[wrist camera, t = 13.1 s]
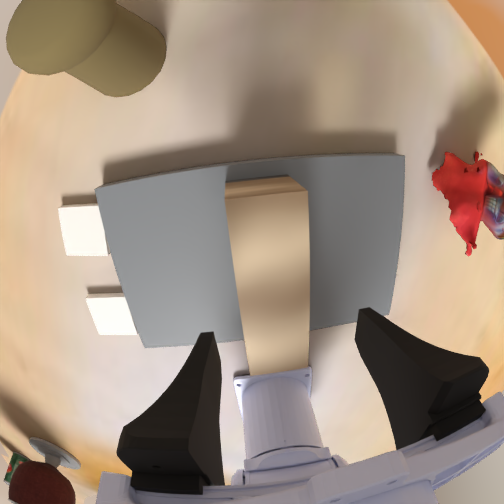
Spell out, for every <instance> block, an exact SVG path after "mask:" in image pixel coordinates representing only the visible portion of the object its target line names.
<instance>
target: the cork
mask: <svg viewBox="0 0 504 504" xmlns="http://www.w3.org/2000/svg"><path fill="white" fill-rule="evenodd" d="M6 42H7V50H8V53H9V55H10V57H11V59H12V61H13V63H14V64H15V65H16V66H18V67H19V68H21V69H23V70H24V71H26V72H27V73H30V74H39V75H52V74H56V73H59V72H63V71H65V72H67V73H68V74H70V75H72V76H74V77H75V78H77V79H79V80H81V81H82V82H84V83H86V84H87V85H89V86H91V87H93V88H94V89H96V90H98V91H99V92H101V93H103V94H104V95H108V96H113V97H122V96H129V95H131V94H134V93H136V92H138V91H141V90H142V89H143V88H145V87H146V86H147V85H149V84H150V83H151V82H152V81H153V80H154V79H155V77H156V76H157V75H158V73H159V72H160V71H161V68H162V66H163V63H164V61H165V58H166V44H165V40H164V37H163V35H162V34H161V33H160V32H159V30H158V29H157V28H156V27H154V26H153V25H151V24H150V23H148V22H146V21H145V20H143V19H142V18H140V17H138V16H137V15H135V14H133V13H132V12H130V11H128V10H127V9H125V8H123V7H122V6H120V5H118V4H117V3H116V0H22V2H21V3H20V4H19V6H18V7H17V9H16V10H15V12H14V14H13V16H12V19H11V21H10V23H9V27H8V31H7V36H6Z"/></svg>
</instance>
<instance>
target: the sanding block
mask: <svg viewBox="0 0 504 504" xmlns="http://www.w3.org/2000/svg"><path fill="white" fill-rule="evenodd" d="M225 207H226V215H227V222H228V230H229V237H230V245H231V252H232V259H233V266H234V273H235V280H236V287H237V294H238V301H239V307H240V314H241V321H242V327H243V334H244V340H245V346H246V353H247V359H248V365H249V372H250V376H254V375H262V374H269V373H276V372H283V371H289V370H296V369H301V368H307V367H308V356H309V321H310V243H309V208H308V191H307V190H306V189H305V188H304V187H302V186H301V185H300V184H299V183H297V182H296V181H295V180H294V179H292V178H291V177H290V176H289V175H276V176H266V177H256V178H247V179H238V180H230V181H225Z"/></svg>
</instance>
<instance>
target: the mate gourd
mask: <svg viewBox="0 0 504 504" xmlns="http://www.w3.org/2000/svg"><path fill="white" fill-rule="evenodd" d="M29 443H30V445H31V446H32V447H33V448H34V449H35V450H36V451H37V452H38V453H40V454H41V455H43V456H44V457H45V463H42V462H36V461H31V460H28V461H26V462H23V463H21V464H19V465H18V467H17V468H16V470H15V472H14V473H13V475H12V478H11V481H10V485H9V499H8V500H9V501H11V502H12V503H14V504H75V500H76V499H75V492H74V489H73V487H72V485H71V483H70V481H69V480H68V479H67V478H66V477H64V476H63V475H62V474H61V473H60V472H59V471H58V470H57V469H56V468H57V467H58V466H59V465H61V466H64V467H67V468H71V469H80V467H81V463H80V462H79V461H78V460H77V459H76V458H75V457H74V456H72V455H71V454H70V453H68V452H67V451H65V450H63V449H62V448H60V447H58V446H56V445H54V444H52V443H50V442H48V441H46V440H43V439H40V438H37V437H31V438H30V439H29Z"/></svg>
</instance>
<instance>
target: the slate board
mask: <svg viewBox="0 0 504 504" xmlns="http://www.w3.org/2000/svg"><path fill="white" fill-rule="evenodd" d="M276 175H289V176H290V177H291V178H292V179H294V180H295V181H296V182H297V183H299V184H300V185H301V186H302V187H304V188H305V189H306V190H307V191H308V208H309V243H310V321H309V331H310V330H316V329H322V328H327V327H332V326H338V325H343V324H348V323H353V322H357V319H358V311H359V309H362V308H367V307H370V308H372V309H373V310H375V311H376V312H378V313H379V314H381V315H382V316H385V315H389V312H390V307H391V302H392V296H393V291H394V285H395V278H396V271H397V264H398V257H399V248H400V239H401V229H402V217H403V203H404V180H405V156H404V155H400V154H395V153H350V154H322V155H304V156H290V157H277V158H266V159H255V160H246V161H237V162H229V163H221V164H213V165H206V166H199V167H193V168H186V169H180V170H174V171H168V172H162V173H157V174H151V175H146V176H141V177H136V178H131V179H126V180H122V181H117V182H112V183H108V184H104V185H101V186H99V187H98V188H96V189H95V194H96V198H97V203H98V207H99V211H100V215H101V219H102V223H103V227H104V231H105V235H106V238H107V242H108V245H109V249H110V252H111V256H112V259H113V262H114V266H115V269H116V272H117V275H118V278H119V281H120V284H121V287H122V290H123V293H124V296H125V299H126V301H127V304H128V307H129V310H130V312H131V315H132V318H133V320H134V323H135V325H136V328H137V330H138V333H139V335H140V338H141V340H142V343H143V345H144V347H145V348H156V347H173V346H188V345H195V343H196V341H197V339H198V336H199V334H200V333H202V332H212V331H214V335H215V340H216V343H222V342H231V341H240V340H244V334H243V327H242V321H241V314H240V307H239V301H238V294H237V287H236V280H235V273H234V266H233V259H232V252H231V245H230V237H229V230H228V222H227V215H226V207H225V181H230V180H238V179H247V178H256V177H266V176H276Z"/></svg>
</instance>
